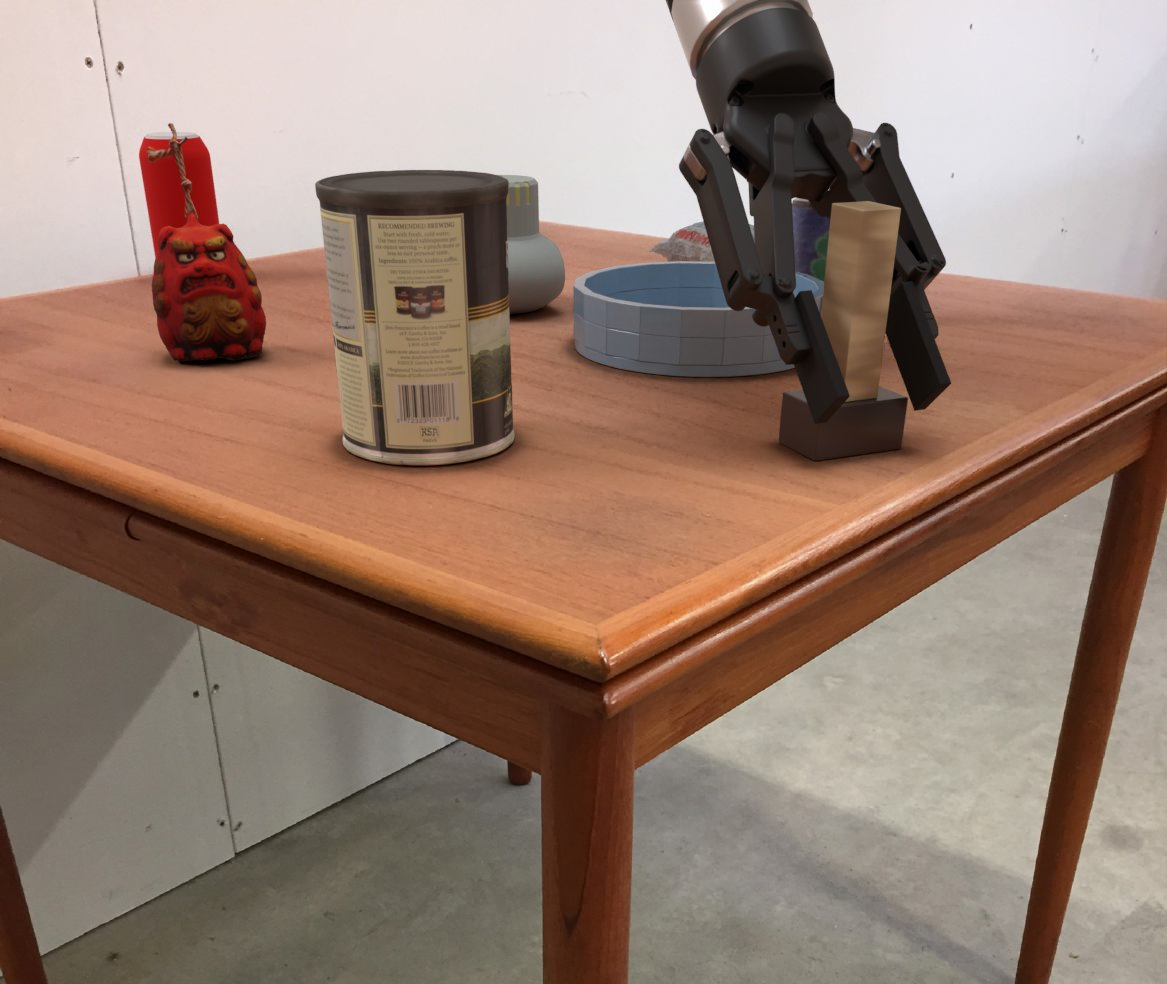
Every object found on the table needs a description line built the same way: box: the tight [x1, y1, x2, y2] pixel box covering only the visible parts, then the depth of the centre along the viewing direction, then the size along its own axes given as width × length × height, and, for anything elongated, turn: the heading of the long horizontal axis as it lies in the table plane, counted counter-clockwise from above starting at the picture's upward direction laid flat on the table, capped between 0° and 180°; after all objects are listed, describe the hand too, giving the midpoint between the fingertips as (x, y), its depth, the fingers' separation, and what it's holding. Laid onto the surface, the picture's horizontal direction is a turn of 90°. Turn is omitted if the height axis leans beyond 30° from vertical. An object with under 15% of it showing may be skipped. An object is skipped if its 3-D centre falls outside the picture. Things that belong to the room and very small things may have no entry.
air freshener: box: [498, 174, 566, 315], centre depth 104 cm, size 11×8×10 cm
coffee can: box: [314, 169, 516, 466], centre depth 71 cm, size 10×10×14 cm
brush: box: [778, 201, 909, 462], centre depth 71 cm, size 6×4×13 cm, turn 114°
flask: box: [792, 198, 899, 281], centre depth 102 cm, size 9×3×11 cm, turn 71°
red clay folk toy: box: [147, 122, 267, 363], centre depth 89 cm, size 8×7×15 cm
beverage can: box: [138, 131, 220, 259], centre depth 115 cm, size 6×6×12 cm
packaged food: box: [648, 220, 755, 262], centre depth 118 cm, size 9×12×5 cm
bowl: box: [572, 261, 824, 378], centre depth 94 cm, size 19×19×4 cm
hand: (883, 403), depth 70 cm, fingers closed on brush, 6 cm apart
